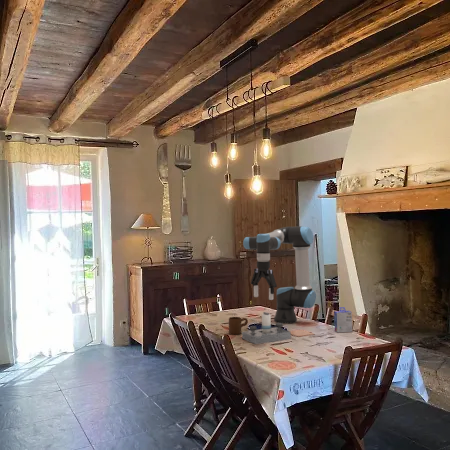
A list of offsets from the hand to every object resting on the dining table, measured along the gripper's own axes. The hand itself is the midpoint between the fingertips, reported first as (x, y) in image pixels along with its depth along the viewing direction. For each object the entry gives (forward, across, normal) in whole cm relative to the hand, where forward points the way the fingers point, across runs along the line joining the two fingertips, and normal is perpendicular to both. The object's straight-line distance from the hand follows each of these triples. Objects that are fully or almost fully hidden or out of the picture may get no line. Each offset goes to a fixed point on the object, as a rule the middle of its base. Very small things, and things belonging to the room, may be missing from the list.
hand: (263, 298), depth 255 cm
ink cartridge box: (+24, +12, +53) cm, 59 cm away
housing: (+24, -2, +3) cm, 24 cm away
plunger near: (+21, -3, -6) cm, 22 cm away
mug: (+24, -22, -1) cm, 33 cm away
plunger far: (+21, -1, +12) cm, 24 cm away
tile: (+24, +1, +27) cm, 36 cm away
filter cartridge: (+24, -2, +3) cm, 24 cm away
